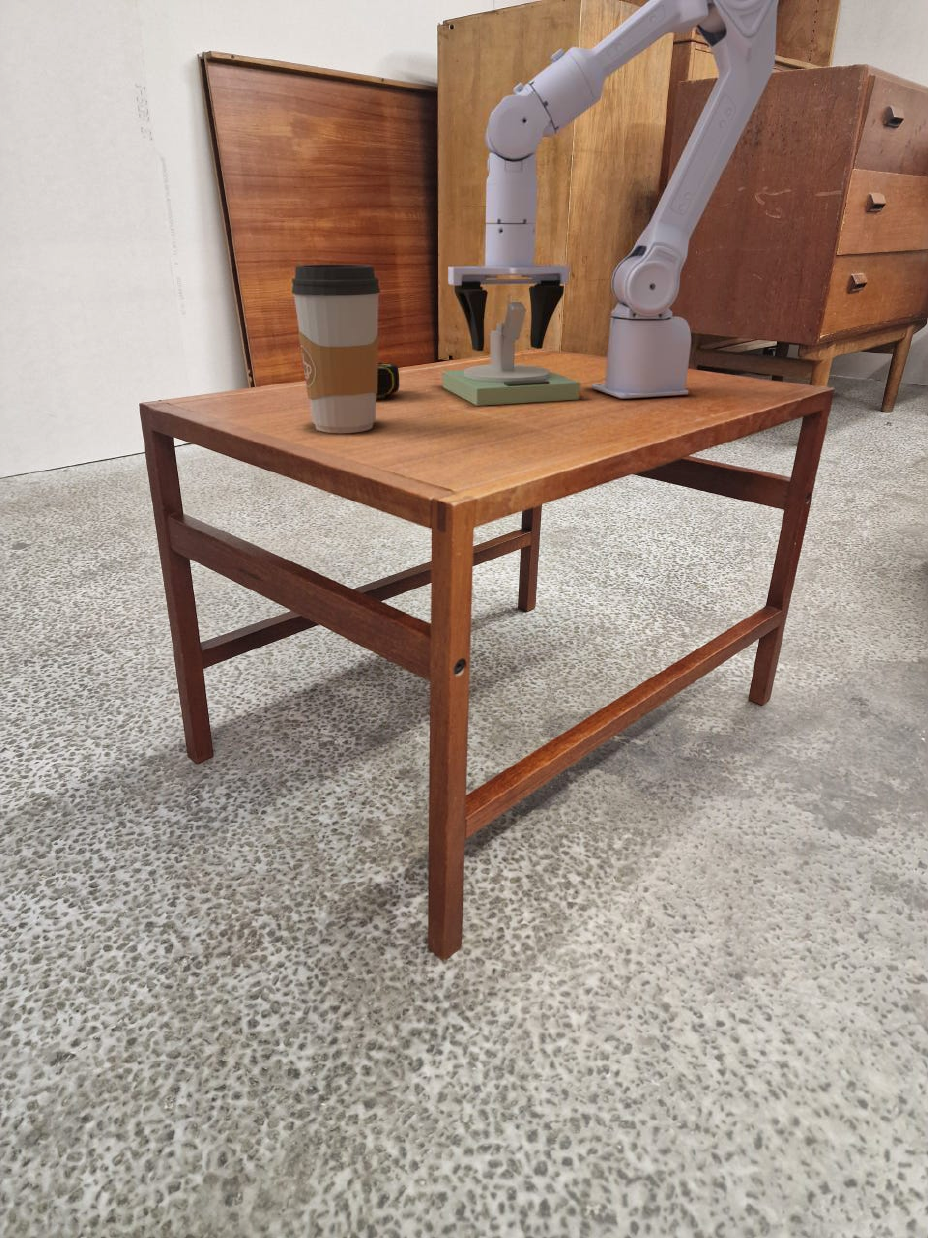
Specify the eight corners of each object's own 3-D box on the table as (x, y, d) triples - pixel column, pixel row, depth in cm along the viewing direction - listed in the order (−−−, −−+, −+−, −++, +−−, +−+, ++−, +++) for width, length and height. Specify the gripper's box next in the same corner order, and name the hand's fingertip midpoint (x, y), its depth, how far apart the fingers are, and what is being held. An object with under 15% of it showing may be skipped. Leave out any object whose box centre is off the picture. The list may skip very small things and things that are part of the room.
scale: (535, 381, 106) (536, 361, 105) (579, 399, 95) (580, 377, 94) (442, 386, 103) (442, 365, 102) (476, 406, 92) (476, 382, 90)
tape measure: (389, 390, 101) (387, 359, 99) (407, 399, 95) (406, 366, 93) (336, 393, 98) (334, 362, 97) (352, 403, 92) (350, 370, 91)
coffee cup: (294, 421, 84) (280, 264, 77) (371, 415, 87) (364, 263, 80) (314, 439, 77) (300, 268, 70) (396, 431, 80) (391, 267, 73)
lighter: (489, 366, 101) (490, 298, 98) (502, 365, 102) (503, 298, 98) (510, 374, 95) (512, 302, 92) (523, 374, 96) (526, 302, 92)
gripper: (462, 223, 86) (461, 355, 92) (583, 224, 90) (575, 350, 96) (442, 223, 92) (443, 347, 98) (557, 224, 96) (551, 343, 102)
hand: (507, 348), depth 97 cm, fingers open, 7 cm apart
